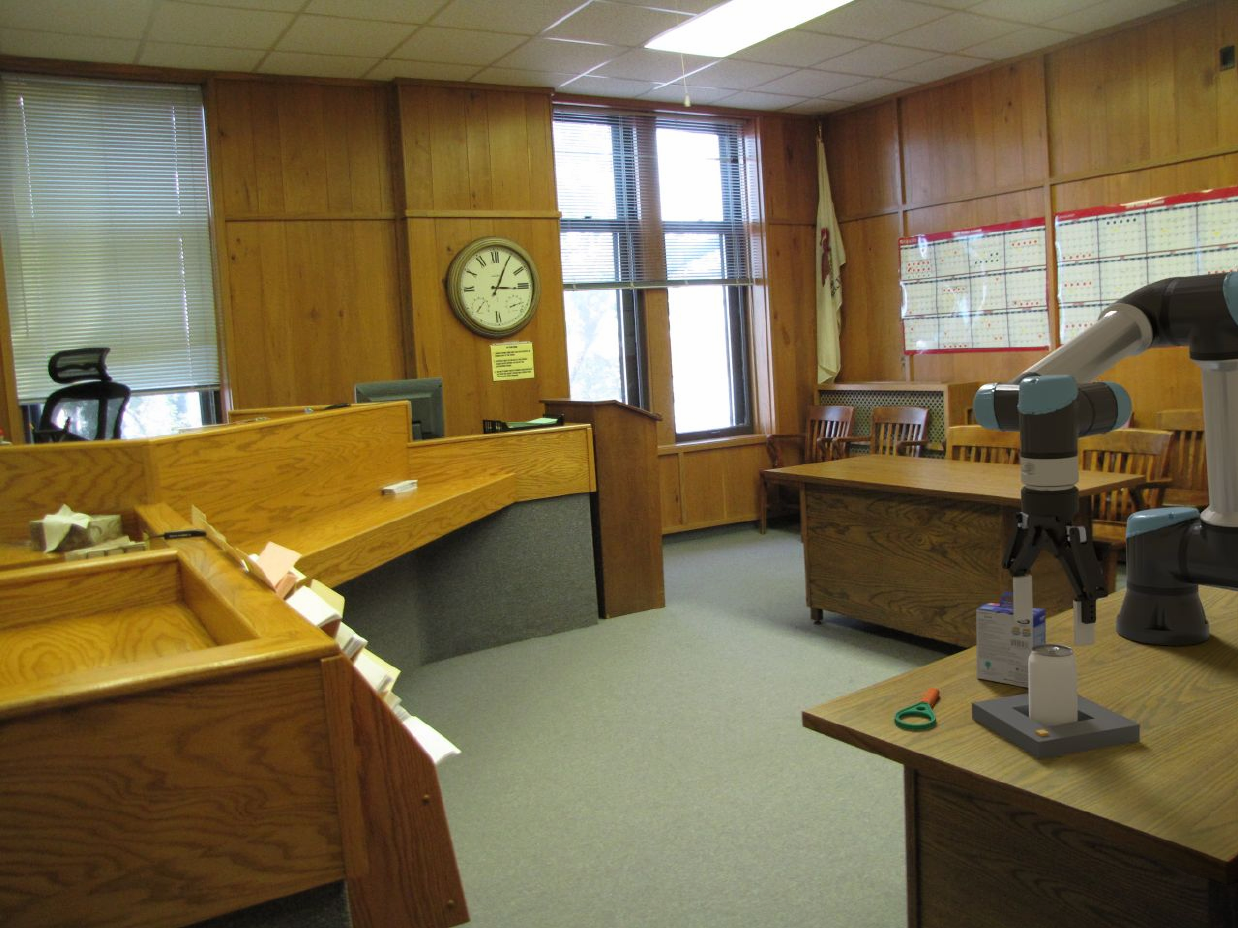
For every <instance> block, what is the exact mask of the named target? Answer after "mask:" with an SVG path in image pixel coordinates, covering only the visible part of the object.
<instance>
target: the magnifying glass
mask: <svg viewBox="0 0 1238 928" xmlns="http://www.w3.org/2000/svg"><path fill="white" fill-rule="evenodd" d="M939 696H940V690H939V688H936V687H928V688H927V691H926V692H925V693H924V695H923V696H922V698H921V699H920V701H919V702H917V703H915V704H913V705H909V706H907V707H905V708H902V709H900V710H898V711H896V712H895V714H894V718H893V719H894V721H893V722H894V724H895V726H897V727H899V728H901V729H904V730H909V731H910V730H911V731H923V730H928V729H931V728H933V727H934V726H935V725H936V724H937V716H936V714H935V712H934V711H933V709H932V706H933V705H934V704H935V702H936V701H937V699H938V698H939ZM910 716H911V717H922V718H926V719H927V720H929V721H928V722H924V723H908V722H905V721H902V720H901V719H903V718H905V717H910Z"/></svg>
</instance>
